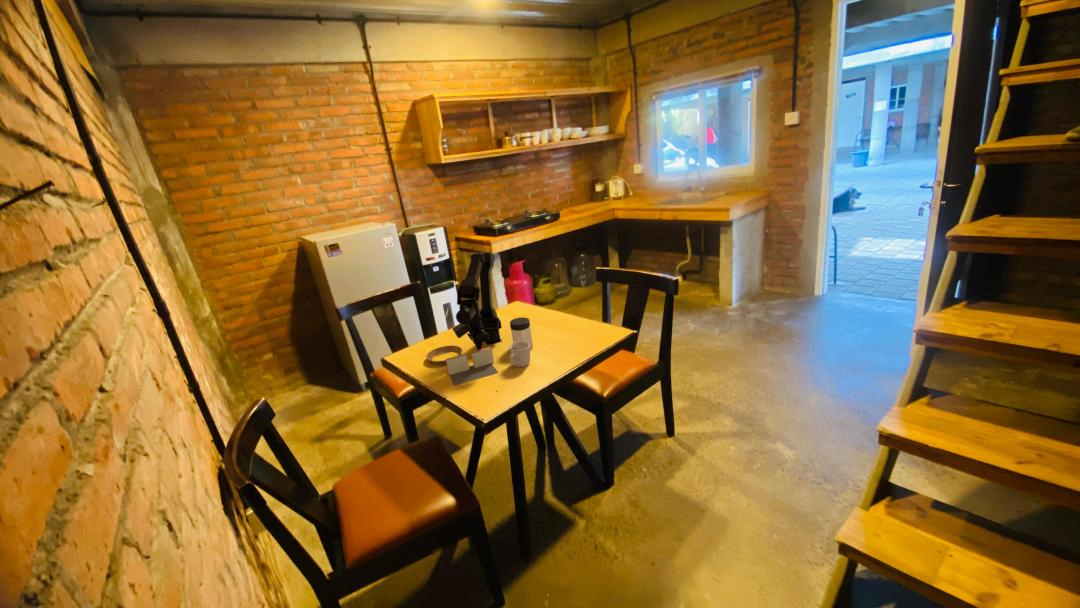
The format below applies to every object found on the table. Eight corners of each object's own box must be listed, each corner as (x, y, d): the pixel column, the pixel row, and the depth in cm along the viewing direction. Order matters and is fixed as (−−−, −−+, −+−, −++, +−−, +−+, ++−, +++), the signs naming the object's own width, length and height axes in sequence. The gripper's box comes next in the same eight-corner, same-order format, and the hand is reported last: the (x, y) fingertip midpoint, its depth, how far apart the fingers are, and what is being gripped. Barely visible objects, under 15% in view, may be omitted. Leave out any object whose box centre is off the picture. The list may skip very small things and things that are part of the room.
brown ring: (426, 355, 194) (425, 349, 193) (461, 348, 197) (460, 342, 196) (428, 370, 180) (427, 364, 180) (465, 362, 184) (464, 356, 183)
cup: (521, 374, 168) (519, 354, 166) (503, 371, 172) (500, 352, 170) (535, 361, 177) (533, 342, 174) (518, 358, 181) (516, 340, 178)
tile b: (468, 368, 177) (465, 353, 175) (469, 370, 175) (466, 354, 173) (448, 374, 174) (445, 358, 172) (449, 375, 173) (446, 360, 170)
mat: (489, 361, 181) (489, 360, 181) (498, 373, 171) (498, 372, 171) (447, 373, 176) (447, 372, 176) (454, 386, 165) (454, 385, 165)
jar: (509, 350, 188) (505, 324, 184) (517, 342, 195) (514, 316, 191) (528, 352, 185) (525, 325, 181) (536, 344, 192) (533, 317, 188)
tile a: (493, 361, 180) (490, 346, 178) (494, 363, 179) (491, 348, 176) (473, 367, 177) (470, 352, 175) (474, 368, 176) (472, 353, 174)
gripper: (447, 312, 181) (454, 347, 186) (457, 327, 164) (464, 365, 170) (474, 306, 185) (480, 341, 190) (487, 320, 168) (493, 357, 173)
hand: (479, 351), depth 180 cm, fingers closed
